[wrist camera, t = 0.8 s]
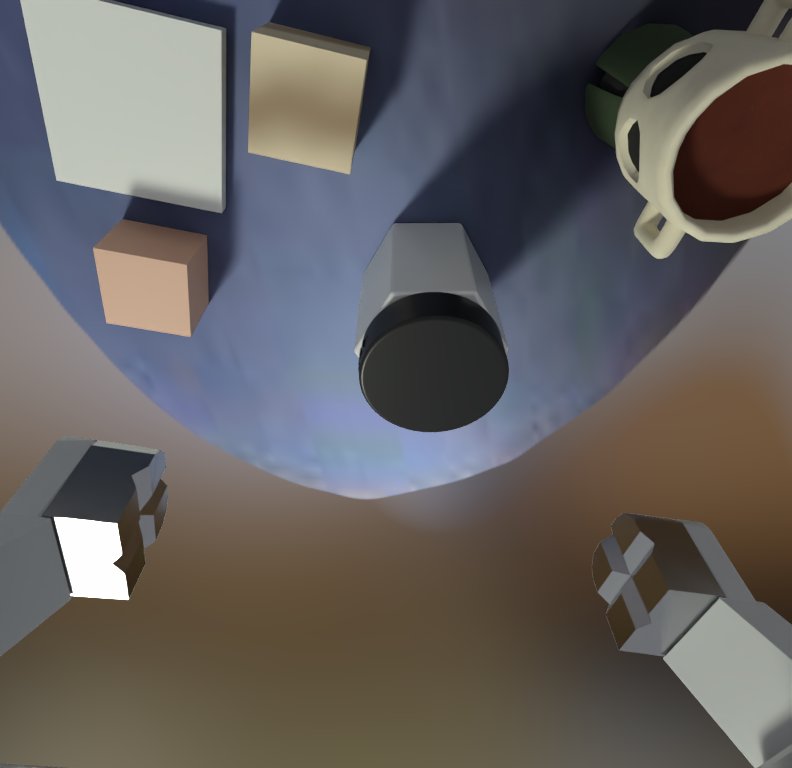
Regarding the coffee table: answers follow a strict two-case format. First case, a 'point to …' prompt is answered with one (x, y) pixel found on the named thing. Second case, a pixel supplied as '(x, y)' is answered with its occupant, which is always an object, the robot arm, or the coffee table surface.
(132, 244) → the terracotta block
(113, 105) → the base plate
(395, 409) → the jar
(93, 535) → the robot arm
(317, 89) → the maple block
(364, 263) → the coffee table surface
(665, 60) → the character mug
